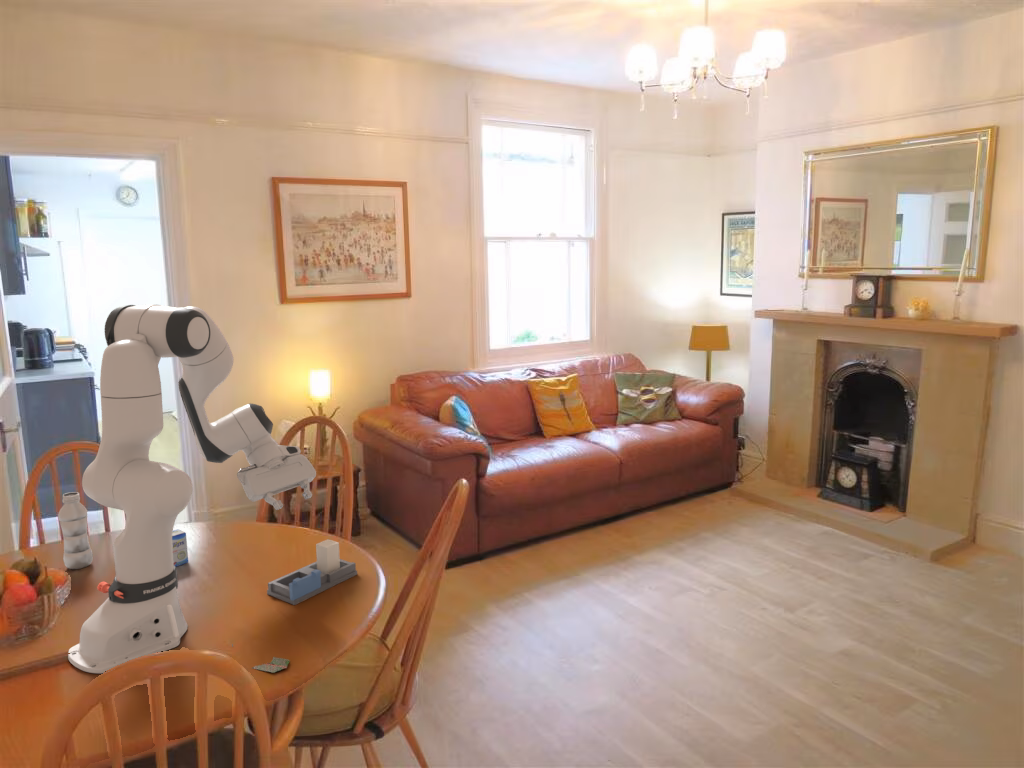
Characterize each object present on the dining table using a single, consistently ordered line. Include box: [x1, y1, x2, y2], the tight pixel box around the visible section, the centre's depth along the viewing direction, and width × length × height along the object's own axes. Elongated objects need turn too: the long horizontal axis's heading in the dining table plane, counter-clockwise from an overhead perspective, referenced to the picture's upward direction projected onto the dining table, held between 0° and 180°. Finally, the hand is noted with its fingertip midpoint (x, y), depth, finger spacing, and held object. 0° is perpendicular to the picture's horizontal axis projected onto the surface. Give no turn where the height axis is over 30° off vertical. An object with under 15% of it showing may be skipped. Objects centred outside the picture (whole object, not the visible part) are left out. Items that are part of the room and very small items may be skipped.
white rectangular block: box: [315, 538, 341, 574], centre depth 181 cm, size 4×4×8 cm
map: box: [231, 643, 291, 673], centre depth 145 cm, size 5×20×1 cm, turn 65°
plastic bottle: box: [57, 491, 94, 570], centre depth 185 cm, size 6×7×20 cm
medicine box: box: [172, 529, 189, 568], centre depth 187 cm, size 8×4×9 cm, turn 143°
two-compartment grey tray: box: [266, 558, 358, 606], centre depth 177 cm, size 20×11×6 cm, turn 146°
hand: (294, 502), depth 185 cm, fingers open, 8 cm apart
